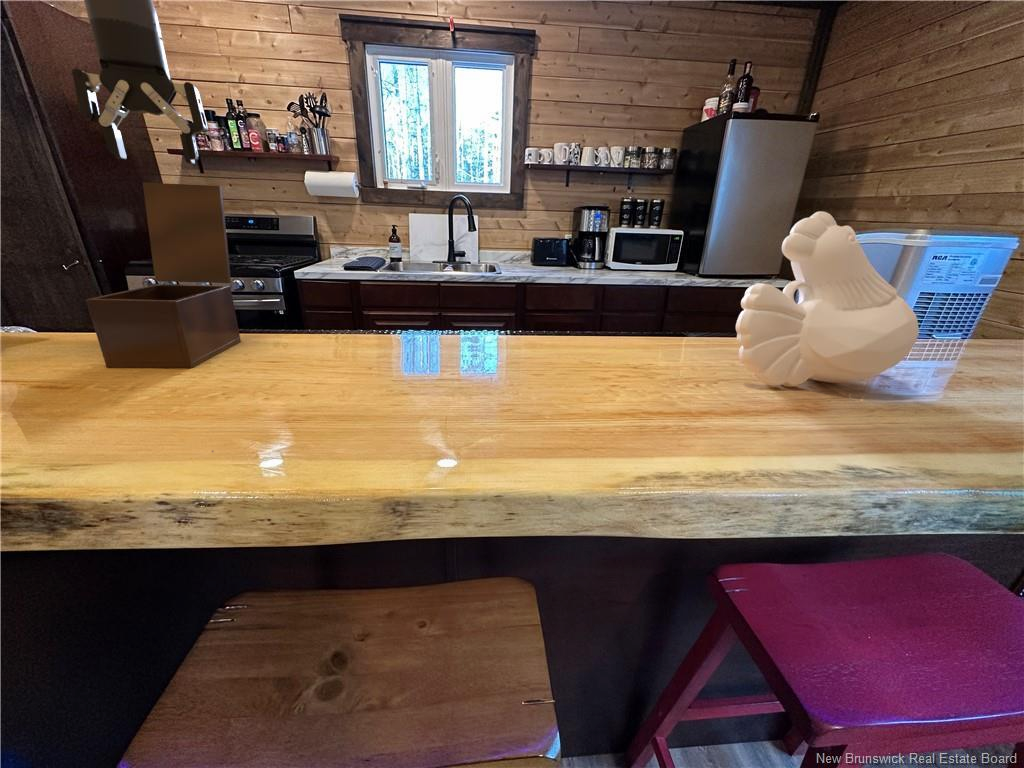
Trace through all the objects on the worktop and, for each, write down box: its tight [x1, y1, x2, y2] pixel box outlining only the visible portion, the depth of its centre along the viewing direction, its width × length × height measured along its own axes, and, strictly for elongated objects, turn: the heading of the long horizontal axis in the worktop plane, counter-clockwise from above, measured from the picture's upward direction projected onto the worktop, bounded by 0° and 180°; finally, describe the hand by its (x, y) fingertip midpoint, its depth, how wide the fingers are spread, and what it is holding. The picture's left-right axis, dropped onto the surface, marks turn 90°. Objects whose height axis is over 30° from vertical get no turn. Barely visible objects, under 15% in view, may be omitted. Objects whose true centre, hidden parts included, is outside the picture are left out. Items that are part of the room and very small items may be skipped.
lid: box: [142, 181, 232, 284], centre depth 72 cm, size 15×12×1 cm
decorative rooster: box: [735, 210, 920, 388], centre depth 67 cm, size 25×16×25 cm
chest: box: [85, 283, 242, 369], centre depth 68 cm, size 15×12×10 cm
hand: (156, 160), depth 64 cm, fingers open, 8 cm apart
